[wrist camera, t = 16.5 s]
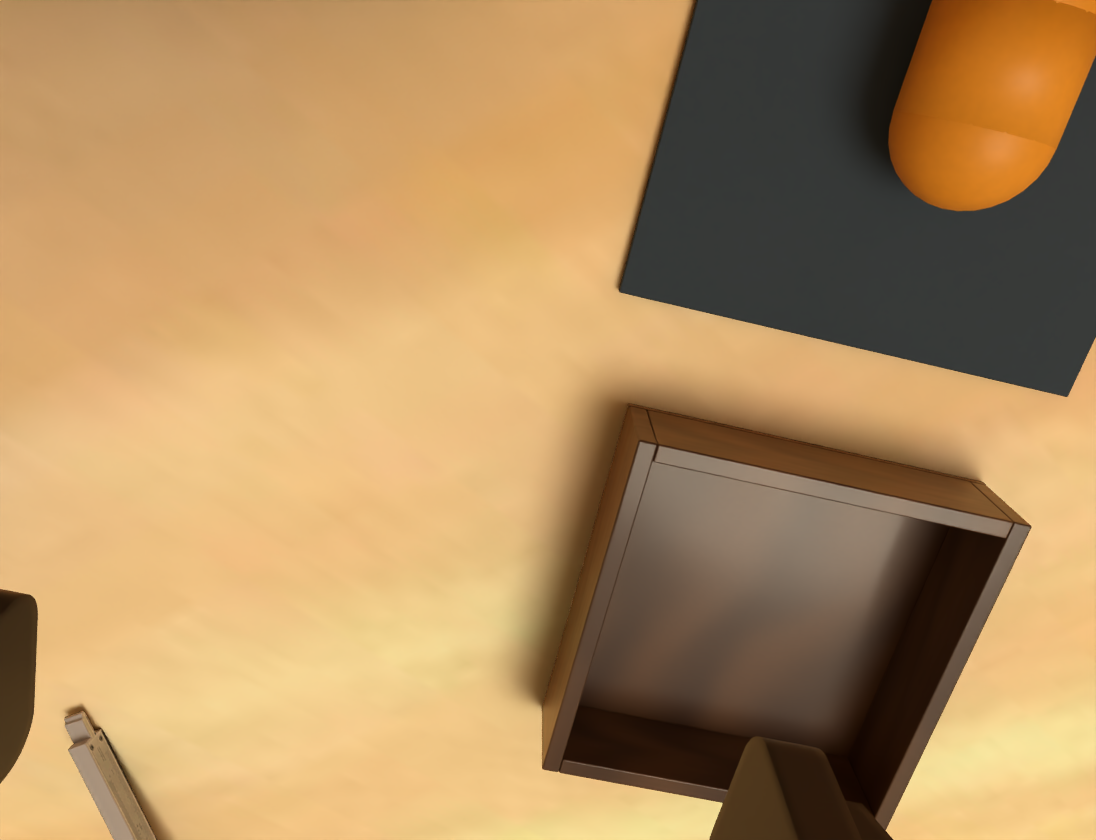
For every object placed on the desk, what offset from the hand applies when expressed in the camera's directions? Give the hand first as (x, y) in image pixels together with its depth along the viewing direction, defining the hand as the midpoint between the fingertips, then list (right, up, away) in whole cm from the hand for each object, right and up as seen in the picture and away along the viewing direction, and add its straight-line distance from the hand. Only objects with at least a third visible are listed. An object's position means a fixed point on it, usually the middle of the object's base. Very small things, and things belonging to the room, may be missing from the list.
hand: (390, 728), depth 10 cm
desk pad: (+17, +17, +24) cm, 34 cm away
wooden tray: (+11, -5, +32) cm, 34 cm away
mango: (+17, +17, +23) cm, 33 cm away
